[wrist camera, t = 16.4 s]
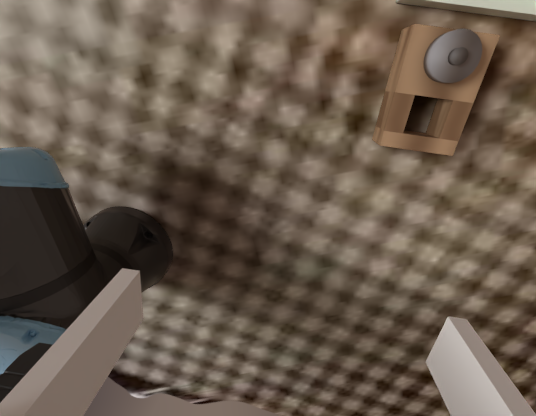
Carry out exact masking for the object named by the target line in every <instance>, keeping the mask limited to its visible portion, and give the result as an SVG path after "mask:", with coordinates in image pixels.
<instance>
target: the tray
mask: <svg viewBox="0 0 536 416" xmlns="http://www.w3.org/2000/svg"><path fill="white" fill-rule="evenodd" d="M396 3H400V4H407V5H415V6H422V7H430V8H438V9H445V10H453V11H461V12H468V13H476V14H484V15H491V16H499V17H506V18H514V19H522V20H529V21H536V0H396Z"/></svg>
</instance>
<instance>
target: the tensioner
mask: <svg viewBox="0 0 536 416" xmlns="http://www.w3.org/2000/svg"><path fill="white" fill-rule="evenodd" d="M499 37H500V35H495V34H488V33H480V32H473V31H471V30H468V29H450V28H442V27H435V26H427V25H420V24H413V25H411V26H409V27H407V28H405V29H402V31H401V35H400V39H399V42H398V46H397V50H396V53H395V57H394V61H393V64H392V68H391V72H390V75H389V79H388V83H387V86H386V90H385V94H384V98H383V101H382V105H381V109H380V112H379V116H378V120H377V123H376V127H375V131H374V134H373V138H372V140H373V141H375V142H376V143H377V144H379V145H380V146H387V147H394V148H401V149H408V150H415V151H422V152H429V153H436V154H443V155H450V156H453V154H454V151H455V149H456V146H457V144H458V141H459V139H460V136H461V134H462V131H463V128H464V126H465V123H466V121H467V118H468V116H469V113H470V111H471V108H472V106H473V103H474V100H475V98H476V95H477V93H478V90H479V88H480V85H481V83H482V80H483V78H484V75H485V73H486V70H487V67H488V65H489V62H490V60H491V57H492V55H493V52H494V50H495V47H496V45H497V42H498V39H499ZM415 95H417V96H425V97H432V98H438V99H437V102H436V105H435V108H434V111H433V113H432V116H431V119H430V122H429V125H428V128H427V131H426V133H421V132H414V131H407V130H404V129H405V126H406V122H407V119H408V116H409V113H410V110H411V106H412V103H413V100H414V97H415Z"/></svg>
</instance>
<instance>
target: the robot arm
mask: <svg viewBox="0 0 536 416" xmlns="http://www.w3.org/2000/svg"><path fill="white" fill-rule="evenodd" d="M68 188H69V185H68V183H66V182H65V181H64V179H63V177H62V175H61V173H60V171H59V169H58V167H57V164H56V162H55V160H54V159H53V157H52V156H51V155H50V154H49V153H47V152H46V151H44V150H42V149H39V148H34V147H15V148H0V416H83V415H84V413H85V412H86V410H87V409H88V407H89V405H90V404H91V402H92V400H93V399H94V397H95V396H96V394H97V393H98V391H99V389H100V388H101V386H102V385H103V383H104V381H105V380H106V378H107V377H108V375H109V373H110V372H111V370H112V369H113V367H114V365H115V364H116V362H117V361H118V359H119V357H120V356H121V354H122V353H123V351H124V349H125V348H126V346H127V345H128V343H129V341H130V340H131V338H132V337H133V335H134V333H135V332H136V330H137V329H138V327H139V325H140V324H141V322H142V321H143V308H142V294H141V293H142V292H143V291H145V290H146V289H148V288H150V287H152V286H153V285H155V284H156V283H158V282H159V281H160V280H161V279H162V278H163V276H164V275H165V273H166V272H167V270H168V269H169V267H170V265H171V262H172V257H173V251H172V245H171V242H170V239H169V237H168V235H167V234H166V232H165V231H164V229H163V228H162V227H161V226H160V225H159V224H158V223H157V222H156V221H155V220H154V219H153V218H151V217H150V216H148V215H147V214H145V213H143V212H141V211H138V210H135V209H132V208H128V207H111V208H107V209H104V210H102V211H100V212H99V213H97V214H96V215H94V216H93V217H91V218H90V219H89V220H88V221H87V222H86V223H85V224H84V225H83V224H82V221H81V219H80V217H79V214H78V212H77V209H76V207H75V204H74V202H73V199H72V197H71V194H70V191H69V189H68ZM426 364H427V366H428V368H429V370H430V372H431V375H432V377H433V379H434V381H435V383H436V385H437V387H438V389H439V391H440V394H441V396H442V398H443V400H444V402H445V404H446V406H447V408H448V411H449V413H450V415H451V416H536V414H535V413H534V411H533V410H532V408H531V407H530V406H529V404H528V403H527V402H526V400H525V399H524V397H523V396H522V395H521V393H520V392H519V391H518V389H517V388H516V386H515V385H514V384H513V382H512V381H511V380H510V378H509V377H508V375H507V374H506V373H505V371H504V370H503V369H502V367H501V366H500V364H499V363H498V362H497V360H496V359H495V358H494V356H493V355H492V354H491V352H490V351H489V349H488V348H487V347H486V345H485V344H484V343H483V341H482V340H481V338H480V337H479V336H478V334H477V333H476V332H475V330H474V329H473V327H472V326H471V325H470V323H469V322H468V321H467V319H462V318H455V317H449V316H448V317H447V320H446V322H445V324H444V326H443V328H442V330H441V332H440V334H439V336H438V338H437V340H436V342H435V344H434V346H433V348H432V350H431V352H430V354H429V356H428V358H427V360H426Z"/></svg>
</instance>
